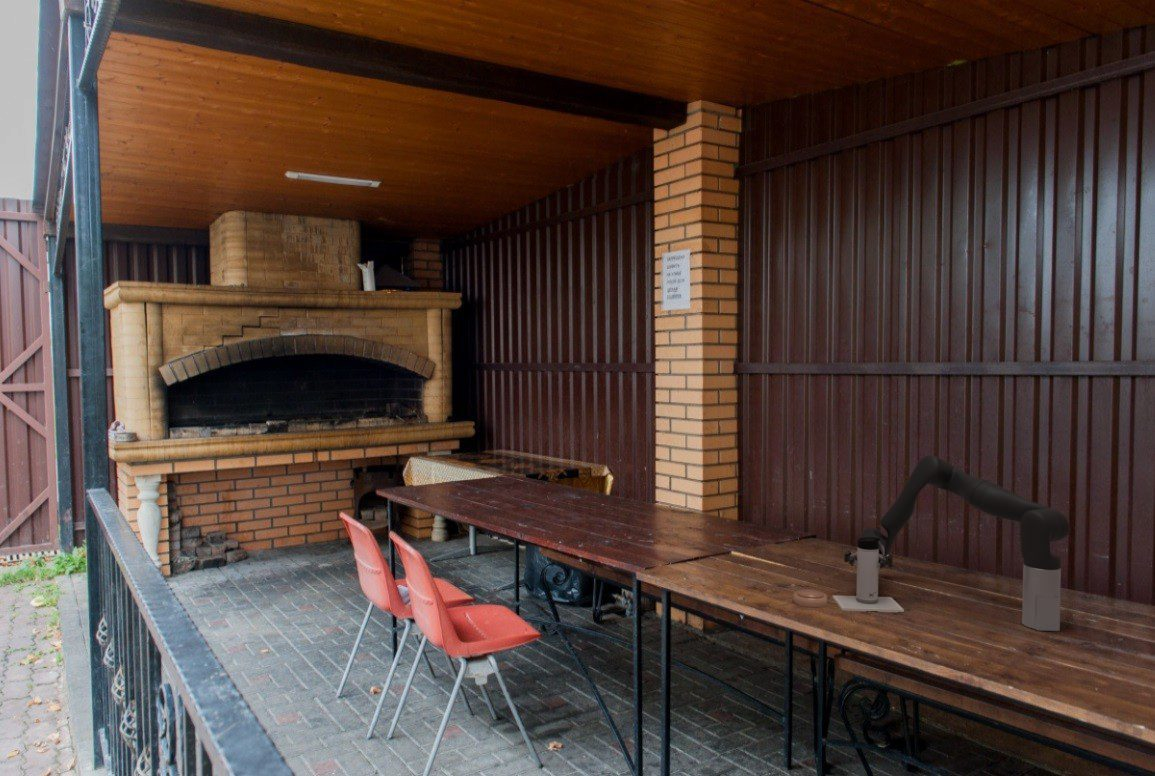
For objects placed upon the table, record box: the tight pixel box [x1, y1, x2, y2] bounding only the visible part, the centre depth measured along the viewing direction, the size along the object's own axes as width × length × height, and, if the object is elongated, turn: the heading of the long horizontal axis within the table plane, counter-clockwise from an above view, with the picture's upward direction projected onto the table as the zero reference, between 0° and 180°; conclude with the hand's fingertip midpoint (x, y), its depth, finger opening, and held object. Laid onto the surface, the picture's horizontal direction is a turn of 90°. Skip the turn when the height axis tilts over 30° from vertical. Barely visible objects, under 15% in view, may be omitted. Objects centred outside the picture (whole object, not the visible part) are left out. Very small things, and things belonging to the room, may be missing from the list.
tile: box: [832, 595, 905, 613], centre depth 248 cm, size 13×18×1 cm
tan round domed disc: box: [793, 588, 828, 608], centre depth 250 cm, size 10×10×3 cm
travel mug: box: [855, 537, 880, 604], centre depth 248 cm, size 6×7×20 cm
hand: (866, 563), depth 246 cm, fingers open, 8 cm apart
